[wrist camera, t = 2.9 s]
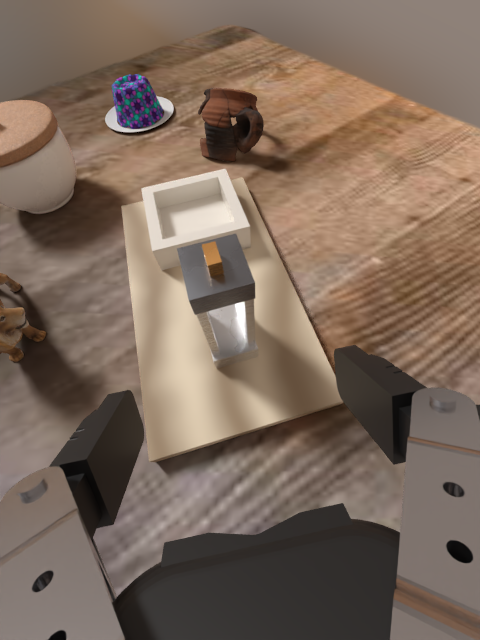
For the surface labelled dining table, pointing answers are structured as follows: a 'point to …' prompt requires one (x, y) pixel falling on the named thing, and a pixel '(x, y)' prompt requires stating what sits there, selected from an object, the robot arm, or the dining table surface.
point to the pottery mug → (229, 123)
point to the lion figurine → (15, 325)
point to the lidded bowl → (34, 159)
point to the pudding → (136, 105)
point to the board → (195, 355)
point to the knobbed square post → (221, 297)
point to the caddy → (192, 214)
